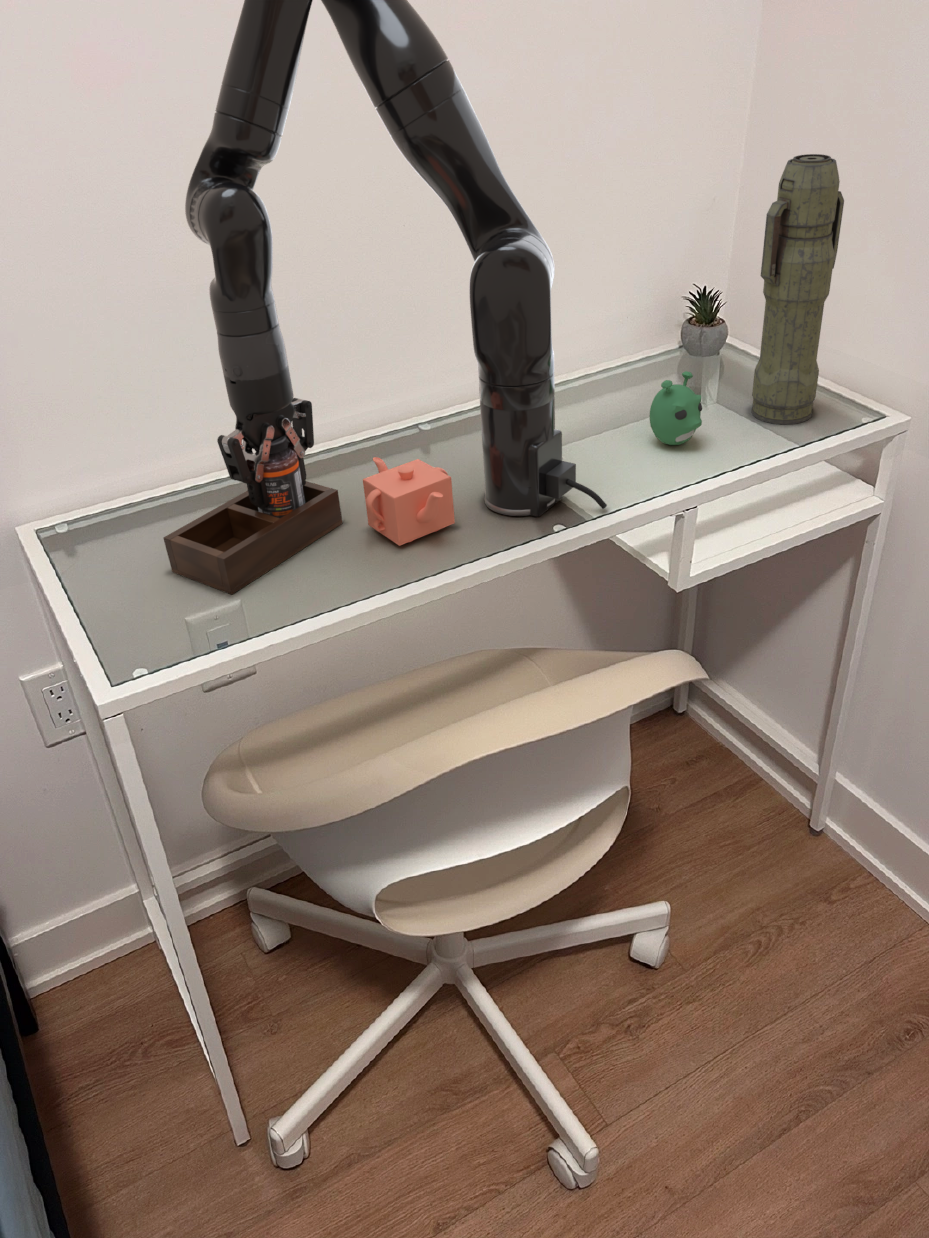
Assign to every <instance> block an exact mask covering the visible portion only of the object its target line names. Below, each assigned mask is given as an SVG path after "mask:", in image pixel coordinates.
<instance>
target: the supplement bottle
mask: <svg viewBox="0 0 929 1238" xmlns="http://www.w3.org/2000/svg"><path fill="white" fill-rule="evenodd" d="M254 451H255V452H253V453H254V454H257V455H258V454H259V451H258V450H254ZM254 467H255V462H254V461H253V467H252V470H253V471H254ZM263 480H265V484H266V489H267V494H268V499H269V504H270V505H269V507H267V508H265V509H262V508H259V507H258V511H259V512H261V513H264V514H267V515H271V516H274V517H277V518H282V517H283V516H285V515H287V514H288V513H290V512H292V511H293V510H295V509H297V508H298V507H300V506H302V505H303V504H305V498H304V492H303V486H302V480H301V474H300V468H299V462H298V457H297V454H296V453H295V451H293V450H292V449H290V448H288V443H287V438H286V436H285V435H284V436H282V437H280V438H278V439H277V440H275V441H273V442H271V447H270V454H269V461H268V462H267V463H266V464H265V467H264V474H263Z"/></svg>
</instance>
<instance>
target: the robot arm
mask: <svg viewBox="0 0 929 1238" xmlns="http://www.w3.org/2000/svg"><path fill="white" fill-rule="evenodd" d="M313 1H314V0H244V1H243V4H242V8H241V11H240V15H239V19H238V22H237V26H236V28H235V29H236V30H235V33H234V37H233V39H232V43H231V46H230V49H229V53H228V57H227V60H226V64H225V69H224V73H223V77H222V81H221V85H220V89H219V93H218V97H217V101H216V107H215V110H214V111H215V112H214V115H213V120H212V127H211V129H210V133H209V135H208V138H207V140H206V142H205V143H204V144H203V145H204V146H203V147H202V149H201V152H200V154H199V156H198V160H197V162H196V163H195V166H194V168H193V171H192V174H191V177H190V180H189V183H188V186H187V190H186V194H185V204H184V211H185V212H184V215H185V219H186V223H187V226H188V228H189V229H190V231H191V232H192V234H193V235H194V236H195V237H196V238H197V239H198V240H200V241H201V242H202V243H204V244H206V245H208V246H210V250H211V255H212V261H213V270H214V271H213V272H214V277H213V278H212V280H211V281H210V283H209V289H208V290H209V301H210V306H211V311H212V315H213V320H214V324H215V330H216V335H217V348H218V350H217V351H218V356H219V360H220V365H221V370H222V374H223V379H224V383H225V388H226V393H227V397H228V403H229V407H230V408H231V410H232V411H233V413H234V415H235V420H236V421H235V427H234V428H235V429H234V430H233V431H232V432H230V433H229V434H227V435H224V434H220V435H219V436H217V439H216V442H217V445H218V449H219V451H220V453H221V456H222V459H223V461H224V464H225V468H226V471H227V473H228V475H229V478H230V480H233V481H236V482H240V483H243V484H246V489H247V490H248V493H249V498H250V501H251V503H252V504H254V505H255V506H256V507H259V508H262V509H265V508H267V507H269V505H270V504H269V499H268V494H267V489H266V484H265V480H263V474H264V467H265V464H266V463H267V462H268V461H269V454H270V447H271V442H273V441H275V440H277V439H278V438H280V437H282V436H284V435H285V436H286V438H287V443H288V448H290V449H292V450H293V451H295V453H296V454H297V457H298V462H299V468H300V474H301V480H302V486H304V485H305V484H306V481H307V471H306V464H305V459H304V457H305V456H306V451H307V450H308V449H312V448H313V447H314V445H315V433H314V417H313V416H314V415H313V403H312V402H311V401H310V400H306V399H303V398H297V397H294V396H295V395H294V389H293V384H292V378H291V373H290V367H289V362H288V355H287V349H286V343H285V339H284V336H283V334H282V330H281V326H280V323H279V322H280V321H279V317H278V310H277V306H276V305H277V304H276V299H275V293H274V290H273V287H272V284H273V283H272V281H273V279H272V278H273V269H274V268H273V265H274V264H273V260H274V259H273V258H274V257H273V254H274V253H273V251H274V250H273V248H274V247H273V245H274V243H273V230H272V223H271V220H270V215H269V211H268V210H267V207H266V204H265V202H264V201H263V199H262V198H261V196H260V195H259V194H258V193H257V192H256V191H255V190H254V189H255V186H256V183H257V180H258V178H259V175H260V172H261V170H262V168H263V167H264V166H266V165H268V164H270V163H272V162H273V161H274V160H275V159H276V156H277V154H278V152H279V149H280V146H281V143H282V137H283V134H284V130H285V127H286V122H287V118H288V114H289V111H290V107H291V102H292V99H293V96H294V95H293V94H294V90H295V86H296V81H297V75H298V71H299V65H300V60H301V55H302V49H303V44H304V40H305V35H306V29H307V25H308V20H309V16H310V12H311V9H312V4H313ZM320 1H321V3H322V5H323V6H324V8H325V10H326V12H327V13H328V16H329V17H330V20H331V21H332V23H333V26H334V27H335V29H336V32H337V35H338V36H339V39H340V41H341V44H342V45H343V47H344V50H345V52H346V54H347V56H348V58H349V60H350V62H351V65H352V67H353V68H354V71H355V73H356V74H357V77H358V79H359V81H360V83H361V85H362V87H363V88H364V90H365V92H366V94H367V96H368V98H369V101H370V102H371V104H372V106H373V108H375V111H376V113H377V115H378V117H379V119H380V120H381V122H382V124H383V126H384V128H385V130H386V131H387V133H388V135H389V136H390V138H391V140H392V142H393V143H394V145H395V146H396V148H397V149H398V151H399V152H400V154H401V155H402V156H403V158H404V159H405V161H406V162H407V163H408V164H409V165H410V167H411V168H412V169H413V170H414V171H415V173H417V175H418V176H419V177H420V178H421V179H422V180H423V181H424V182H425V183H426V184H427V186H428V187H429V188H430V189H431V190H432V191H433V192H434V194H436V196H437V197H438V198H439V199H440V200H441V201H442V202H443V204H444V205H445V207H446V208H447V209H448V211H449V212H450V214H451V216H452V217H453V219H454V221H455V223H456V225H457V226H458V229H459V230H460V232H461V234H462V237H463V239H464V241H465V243H466V246H467V248H468V250H469V252H470V254H471V257H472V260H473V262H474V263H473V265H472V267H471V271H470V274H469V282H468V283H469V284H468V285H469V287H468V288H469V289H468V290H469V291H468V293H469V295H468V296H469V310H470V311H469V312H470V320H471V321H470V323H471V335H472V343H473V344H472V347H473V348H472V349H473V353H474V357H475V360H476V363H477V376H478V391H479V393H478V394H479V409H480V410H479V411H480V427H481V447H482V459H483V460H482V462H483V464H482V465H483V479H484V481H483V482H484V503H485V505H486V507H487V508H488V509H489V510H491V511H493V512H495V513H497V514H500V515H505V516H510V517H511V516H513V517H514V516H515V517H524V516H525V517H526V516H532V517H537V518H539V517H541V516H542V515H543V514H544V513H546V512H547V511H548V510H549V509H550V508H552V507H554V505H555V504H557V503H558V502H559V501H561V500H562V499H563V496H565V495H566V494H567V493H568V492H570V491H571V490H572V489H575V490H578V491H580V492H581V493H584V494H585V495H587V496H589V497H590V498H591V499H593V500H594V502H596V503H597V504H598V506H599V507H600V508H601V509H602V510H605V509H606V508H607V506H608V504H607V503H606V501H604V500H603V498H602V497H601V496H600V495H599V494H597V493H596V492H595V491H594V490H592V489H591V488H589V487H587V486H585V485H584V484H581V483H579V482H577V481H576V480H577V464H576V463H574V462H570V461H565V460H563V432H562V430H561V429H558V428H556V408H555V407H556V401H555V400H556V399H555V398H556V397H555V395H556V392H555V389H556V388H555V351H554V347H553V337H552V335H553V334H552V287H553V283H554V279H555V262H554V261H555V260H554V256H553V254H552V251H551V249H550V247H549V245H548V243H547V242H546V240H545V239H544V237H543V235H542V234H541V232H540V231H539V229H538V228H537V227H536V226H535V224H534V222H533V221H532V218H530V216H529V214H528V213H527V212H526V210H525V208H524V207H523V206H522V204H521V202H520V201H519V198H517V196H516V194H515V193H514V191H513V189H512V188H511V186H510V185H509V182H508V181H507V179H506V178H505V176H504V174H503V172H502V170H501V168H500V166H499V163H498V160H497V158H496V156H495V153H494V151H493V149H492V147H491V144H490V142H489V139H488V137H487V135H486V133H485V131H484V128H483V126H482V124H481V121H480V120H479V118H478V116H477V113H476V111H475V109H474V107H473V105H472V103H471V101H470V99H469V96H468V95H467V92H466V90H465V89H464V86H463V85H462V82H461V80H460V78H459V77H458V75H457V73H456V70H455V69H454V67H453V65H452V63H451V60H449V57H448V56H447V53H446V52H445V50H444V48H443V46H442V45H441V44H440V42H439V40H438V39H437V37H436V36H435V34H434V33H433V31H432V30H431V29H430V27H429V26H428V25H427V24H426V22H425V21H424V19H423V18H422V17H421V15H420V14H419V13H418V12H417V10H416V9H415V8H414V7H413V6H412V4H411V3H410V1H408V0H320ZM253 450H254V451H255V450H258V451H259V454H258V455H257V454H254V453H255V452H253ZM253 461H254V462H255V467H254V471H253V470H252V467H253Z"/></svg>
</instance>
